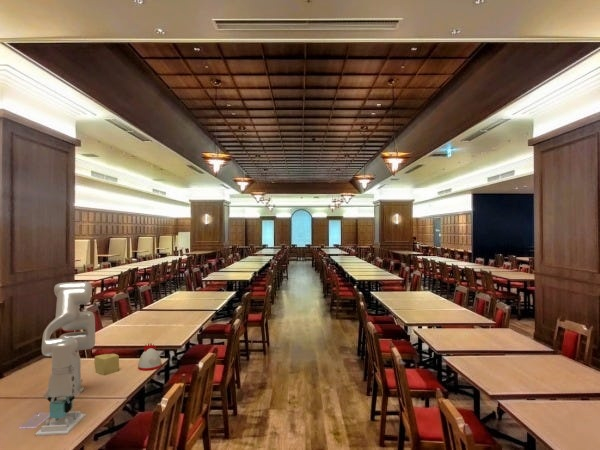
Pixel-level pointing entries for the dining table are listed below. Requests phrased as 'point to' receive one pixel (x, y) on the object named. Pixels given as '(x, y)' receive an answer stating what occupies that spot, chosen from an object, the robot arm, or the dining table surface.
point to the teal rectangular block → (58, 407)
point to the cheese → (106, 363)
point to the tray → (61, 424)
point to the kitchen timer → (149, 359)
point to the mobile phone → (35, 420)
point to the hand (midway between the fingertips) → (61, 411)
